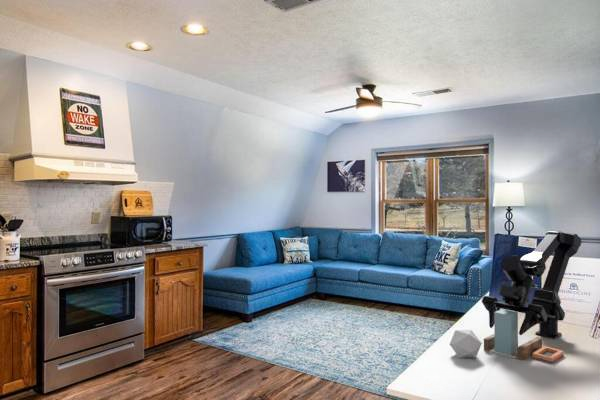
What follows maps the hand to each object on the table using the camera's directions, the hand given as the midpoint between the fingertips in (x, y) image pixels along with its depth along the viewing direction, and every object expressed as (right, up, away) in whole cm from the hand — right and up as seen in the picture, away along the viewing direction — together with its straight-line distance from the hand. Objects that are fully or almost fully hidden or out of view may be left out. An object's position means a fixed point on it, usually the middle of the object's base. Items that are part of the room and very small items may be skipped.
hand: (504, 330), depth 134 cm
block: (+1, -7, +1) cm, 7 cm away
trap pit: (+12, -7, -3) cm, 14 cm away
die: (-13, -8, -2) cm, 15 cm away
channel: (+4, -7, +4) cm, 9 cm away
